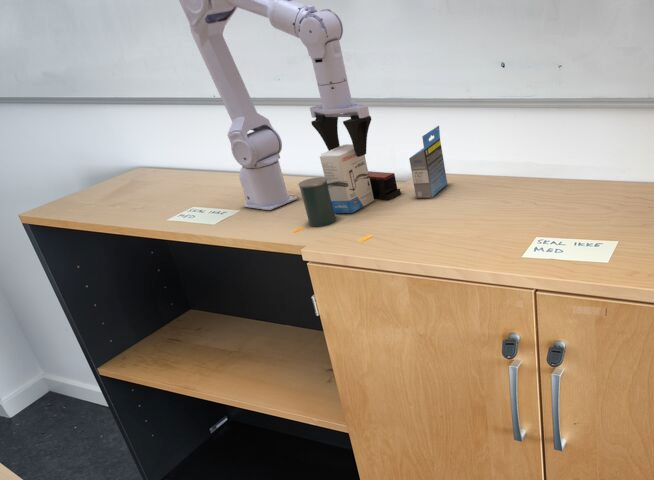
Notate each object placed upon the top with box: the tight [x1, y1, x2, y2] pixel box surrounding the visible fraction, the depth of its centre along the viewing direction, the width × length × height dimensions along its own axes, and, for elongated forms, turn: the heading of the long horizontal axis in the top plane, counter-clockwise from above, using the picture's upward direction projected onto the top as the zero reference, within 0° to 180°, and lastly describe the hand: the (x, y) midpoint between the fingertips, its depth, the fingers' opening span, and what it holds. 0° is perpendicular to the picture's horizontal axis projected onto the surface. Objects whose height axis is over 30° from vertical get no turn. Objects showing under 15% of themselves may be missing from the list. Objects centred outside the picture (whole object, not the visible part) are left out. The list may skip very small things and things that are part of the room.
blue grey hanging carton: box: [408, 125, 448, 199], centre depth 139 cm, size 9×4×12 cm, turn 160°
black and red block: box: [368, 170, 402, 201], centre depth 144 cm, size 12×4×5 cm, turn 53°
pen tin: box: [298, 176, 337, 228], centre depth 132 cm, size 5×5×8 cm
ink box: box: [319, 143, 375, 214], centre depth 137 cm, size 9×5×12 cm, turn 153°
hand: (348, 154), depth 136 cm, fingers open, 7 cm apart
